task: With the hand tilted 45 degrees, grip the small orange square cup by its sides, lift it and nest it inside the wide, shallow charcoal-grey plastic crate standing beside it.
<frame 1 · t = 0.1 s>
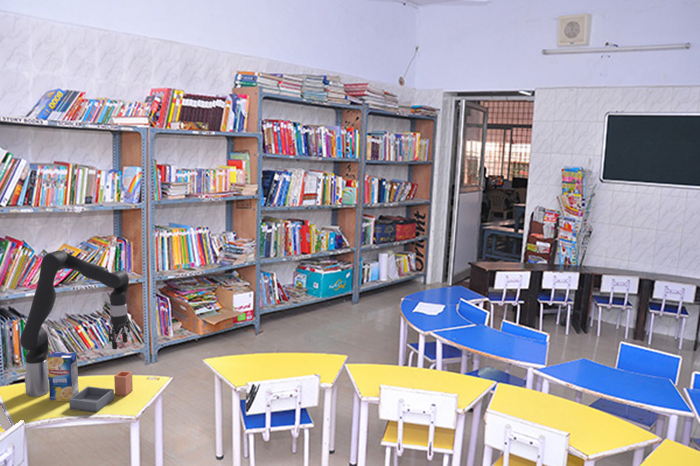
hand: (119, 345, 268), 29 cm above the table, tool pointing down, fingers open, 8 cm apart
orange square cup: (123, 392, 284), on the table
charcoal crate: (92, 403, 271), on the table
blue food box: (64, 397, 277), on the table
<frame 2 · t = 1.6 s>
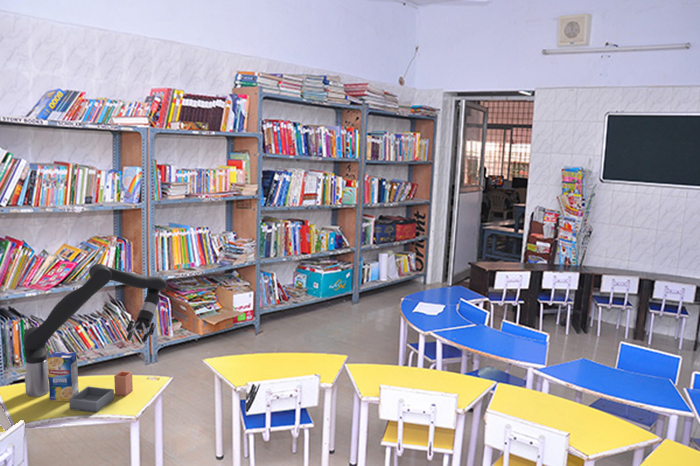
hand: (135, 340, 290), 23 cm above the table, tool tilted 45°, fingers open, 8 cm apart
nothing on the table moved.
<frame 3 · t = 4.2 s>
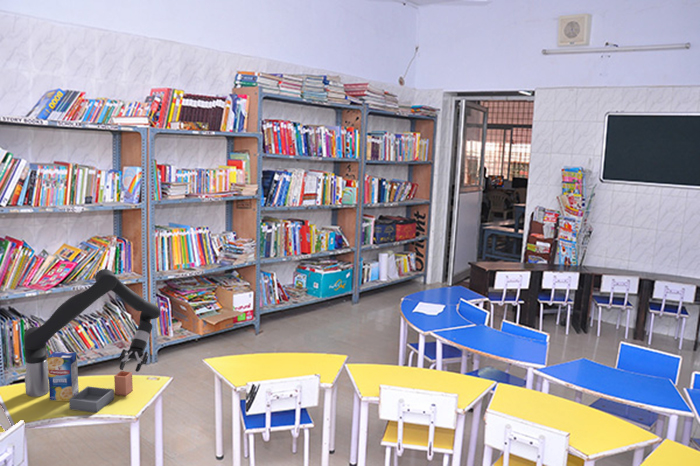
hand: (128, 370, 287), 10 cm above the table, tool tilted 45°, fingers open, 8 cm apart
nothing on the table moved.
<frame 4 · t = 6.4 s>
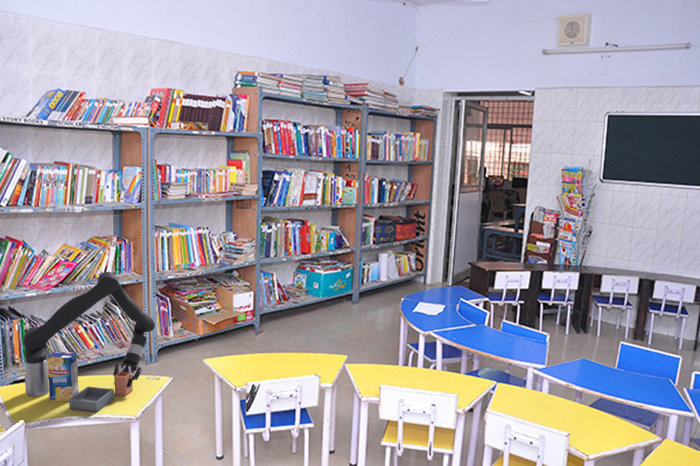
hand: (121, 386, 281), 4 cm above the table, tool tilted 45°, fingers closed on orange square cup, 6 cm apart
orange square cup: (123, 392, 284), on the table, touching gripper
everything else where it was.
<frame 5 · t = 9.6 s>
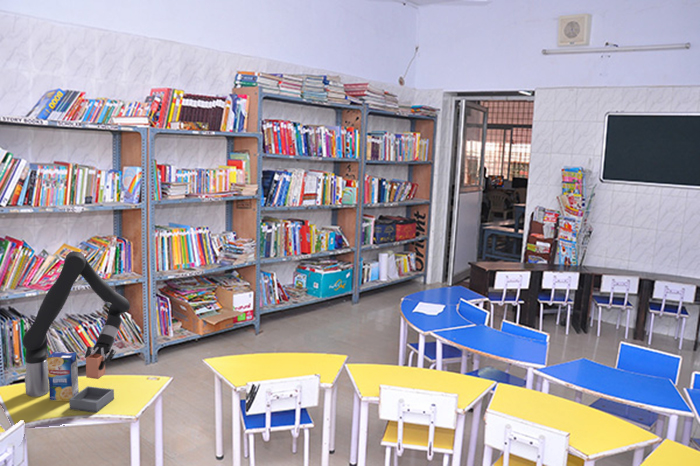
hand: (93, 368, 269), 18 cm above the table, tool tilted 45°, fingers closed on orange square cup, 6 cm apart
orange square cup: (95, 375, 271), point 14 cm above the table, touching gripper
everything else where it was.
when the fingers open (7 cm above the table, at t = 12.7 s): orange square cup drops 1 cm, resting on charcoal crate.
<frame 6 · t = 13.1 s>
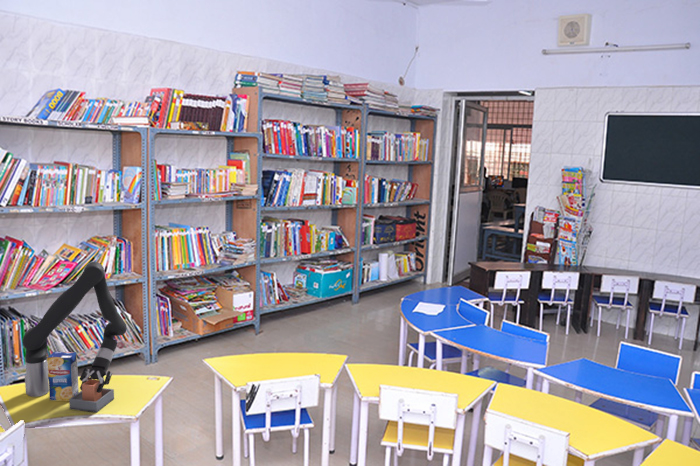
hand: (89, 391, 269), 7 cm above the table, tool tilted 45°, fingers open, 8 cm apart
orange square cup: (92, 401, 271), point 1 cm above the table, touching charcoal crate
charcoal crate: (92, 403, 271), on the table, touching orange square cup
everything else where it was.
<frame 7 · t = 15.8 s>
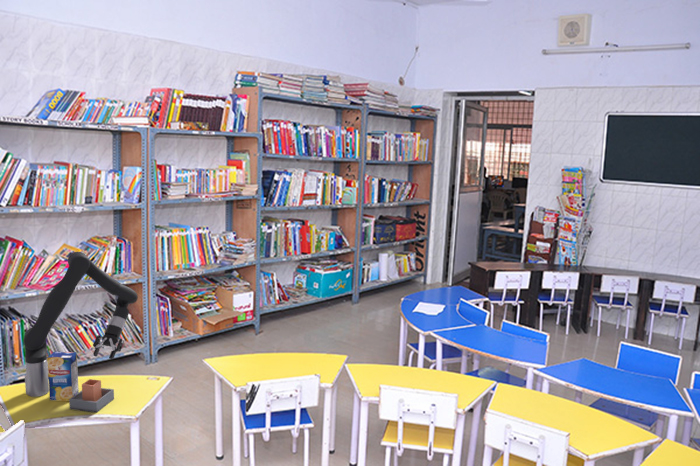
hand: (102, 357, 280), 19 cm above the table, tool tilted 40°, fingers open, 8 cm apart
nothing on the table moved.
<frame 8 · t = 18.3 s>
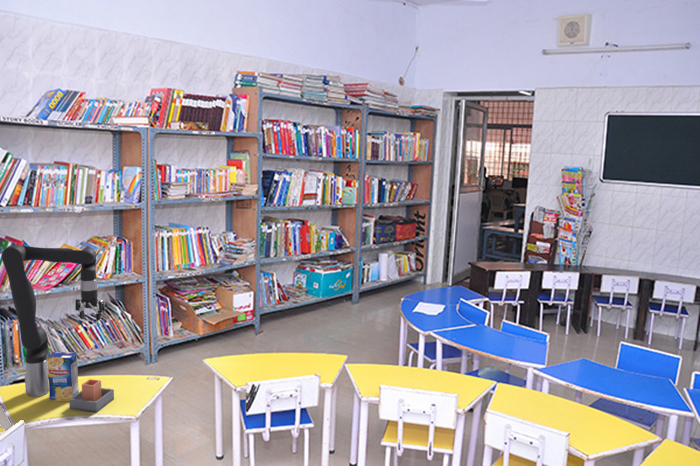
hand: (90, 319, 282), 36 cm above the table, tool pointing down, fingers open, 8 cm apart
nothing on the table moved.
at the end: orange square cup inside the target area on the charcoal crate (0.1 cm from its centre), point 1.0 cm above the charcoal crate's base; orange square cup tilted 0°; the gripper is holding nothing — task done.
